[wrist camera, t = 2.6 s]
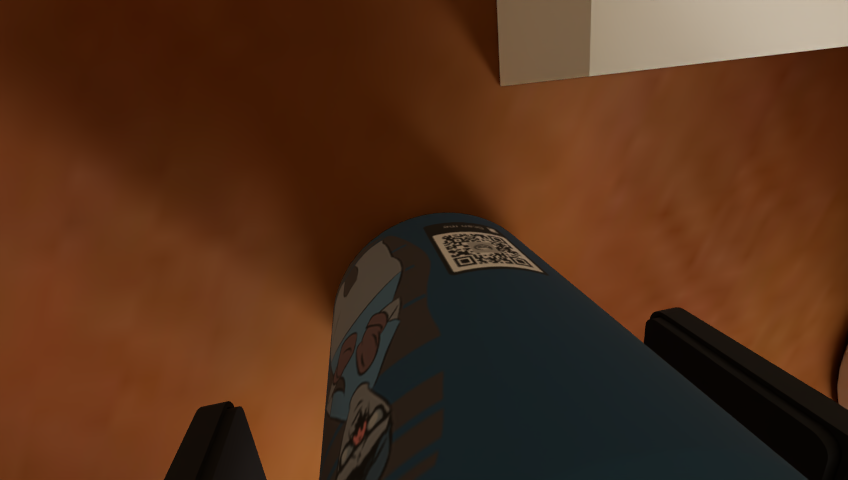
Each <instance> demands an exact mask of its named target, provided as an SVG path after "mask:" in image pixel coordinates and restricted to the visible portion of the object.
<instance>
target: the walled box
mask: <svg viewBox="0 0 848 480" xmlns="http://www.w3.org/2000/svg"><path fill="white" fill-rule="evenodd" d="M497 17H498V41H499V65H500V86H508V85H517V84H526V83H534V82H543V81H552V80H561V79H570V78H578V77H587V76H596V75H605V74H613V73H622V72H630V71H639V70H647V69H656V68H665V67H673V66H682V65H690V64H699V63H708V62H716V61H725V60H733V59H742V58H750V57H759V56H768V55H776V54H785V53H793V52H802V51H810V50H819V49H828V48H836V47H845V46H848V0H497Z"/></svg>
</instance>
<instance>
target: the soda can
mask: <svg viewBox="0 0 848 480" xmlns="http://www.w3.org/2000/svg"><path fill="white" fill-rule="evenodd" d="M319 480H808V479H807V478H806V477H805V476H803V475H802V474H801V473H800V472H799V471H797V470H796V469H795V468H794V467H793V466H791V465H790V464H789V463H788V462H786V461H785V460H784V459H783V458H782V457H780V456H779V455H778V454H777V453H776V452H774V451H773V450H772V449H771V448H770V447H768V446H767V445H766V444H765V443H764V442H762V441H761V440H760V439H759V438H757V437H756V436H755V435H754V434H753V433H751V432H750V431H749V430H748V429H747V428H745V427H744V426H743V425H742V424H741V423H739V422H738V421H737V420H736V419H735V418H733V417H732V416H731V415H730V414H728V413H727V412H726V411H725V410H724V409H722V408H721V407H720V406H719V405H718V404H716V403H715V402H714V401H713V400H712V399H710V398H709V397H708V396H707V395H706V394H704V393H703V392H702V391H701V390H699V389H698V388H697V387H696V386H695V385H693V384H692V383H691V382H690V381H689V380H687V379H686V378H685V377H684V376H683V375H681V374H680V373H679V372H678V371H677V370H675V369H674V368H673V367H672V366H670V365H669V364H668V363H667V362H666V361H664V360H663V359H662V358H661V357H660V356H658V355H657V354H656V353H655V352H654V351H652V350H651V349H650V348H649V347H648V346H646V345H645V344H644V343H643V342H641V341H640V340H639V339H638V338H637V337H635V336H634V335H633V334H632V333H631V332H629V331H628V330H627V329H626V328H625V327H623V326H622V325H621V324H620V323H618V322H617V321H616V320H615V319H614V318H612V317H611V316H610V315H609V314H608V313H606V312H605V311H604V310H603V309H602V308H600V307H599V306H598V305H597V304H596V303H594V302H593V301H592V300H591V299H589V298H588V297H587V296H586V295H585V294H583V293H582V292H581V291H580V290H579V289H577V288H576V287H575V286H574V285H573V284H571V283H570V282H569V281H568V280H567V279H565V278H564V277H563V276H562V275H560V274H559V273H558V272H557V271H556V270H554V269H553V268H552V267H551V266H550V265H548V264H547V263H546V262H545V261H544V260H542V259H541V258H540V257H539V256H538V255H536V254H535V253H534V252H533V251H531V250H530V249H529V248H528V247H527V246H525V245H524V244H523V243H522V242H521V241H519V240H518V239H517V238H516V237H515V236H513V235H512V234H511V233H510V232H508V231H507V230H505V229H504V228H502V227H501V226H499V225H497V224H495V223H493V222H491V221H489V220H486V219H483V218H480V217H477V216H473V215H468V214H462V213H434V214H428V215H423V216H418V217H415V218H412V219H409V220H406V221H404V222H401V223H399V224H397V225H395V226H393V227H391V228H389V229H388V230H386V231H384V232H383V233H381V234H380V235H378V236H377V237H376V238H374V239H373V240H372V241H371V242H370V243H368V244H367V245H366V246H365V247H364V248H363V249H362V250H361V251H360V253H359V254H358V255H357V256H356V257H355V259H354V260H353V261H352V263H351V264H350V266H349V267H348V269H347V271H346V272H345V274H344V276H343V278H342V281H341V283H340V285H339V288H338V291H337V294H336V299H335V304H334V312H333V323H332V335H331V347H330V359H329V371H328V383H327V394H326V406H325V418H324V430H323V442H322V453H321V465H320V477H319Z"/></svg>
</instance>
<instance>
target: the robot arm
mask: <svg viewBox="0 0 848 480" xmlns="http://www.w3.org/2000/svg"><path fill="white" fill-rule="evenodd" d="M644 344H645V345H646V346H648V347H649V348H650V349H651V350H652V351H654V352H655V353H656V354H657V355H658V356H660V357H661V358H662V359H663V360H664V361H666V362H667V363H668V364H669V365H670V366H672V367H673V368H674V369H675V370H677V371H678V372H679V373H680V374H681V375H683V376H684V377H685V378H686V379H687V380H689V381H690V382H691V383H692V384H693V385H695V386H696V387H697V388H698V389H699V390H701V391H702V392H703V393H704V394H706V395H707V396H708V397H709V398H710V399H712V400H713V401H714V402H715V403H716V404H718V405H719V406H720V407H721V408H722V409H724V410H725V411H726V412H727V413H728V414H730V415H731V416H732V417H733V418H735V419H736V420H737V421H738V422H739V423H741V424H742V425H743V426H744V427H745V428H747V429H748V430H749V431H750V432H751V433H753V434H754V435H755V436H756V437H757V438H759V439H760V440H761V441H762V442H764V443H765V444H766V445H767V446H768V447H770V448H771V449H772V450H773V451H774V452H776V453H777V454H778V455H779V456H780V457H782V458H783V459H784V460H785V461H786V462H788V463H789V464H790V465H791V466H793V467H794V468H795V469H796V470H797V471H799V472H800V473H801V474H802V475H803V476H805V477H806V478H807V479H808V480H848V344H847V347H846V350H845V353H844V356H843V359H842V362H841V365H840V369H839V376H838V383H837V391H838V403H839V404H838V403H836V402H835V401H833V400H831V399H830V398H828V397H826V396H825V395H823V394H822V393H820V392H818V391H817V390H815V389H813V388H812V387H810V386H808V385H807V384H805V383H804V382H802V381H800V380H799V379H797V378H795V377H794V376H792V375H790V374H789V373H787V372H786V371H784V370H782V369H781V368H779V367H777V366H776V365H774V364H772V363H771V362H769V361H768V360H766V359H764V358H763V357H761V356H759V355H758V354H756V353H754V352H753V351H751V350H750V349H748V348H746V347H745V346H743V345H741V344H740V343H738V342H736V341H735V340H733V339H732V338H730V337H728V336H727V335H725V334H723V333H722V332H720V331H718V330H717V329H715V328H713V327H712V326H710V325H709V324H707V323H705V322H704V321H702V320H700V319H699V318H697V317H695V316H694V315H692V314H691V313H689V312H687V311H686V310H684V309H682V308H671V309H666V310H661V311H656V312H654V313H653V314H652V315H651V317H650V320H648V321H647V322H646V326H645V337H644ZM164 480H267V479H266V476H265V473H264V470H263V467H262V464H261V461H260V458H259V455H258V452H257V449H256V446H255V443H254V440H253V437H252V434H251V431H250V428H249V425H248V422H247V419H246V416H245V413H244V410H243V408H242V407H240V406H239V407H234V405H233V404H232V403H231V402H229V401H227V402H223V403H218V404H213V405H208V406H204V407H200V408H199V409H198V410H197V412H196V413H195V416H194V418H193V420H192V422H191V424H190V426H189V428H188V430H187V432H186V434H185V437H184V439H183V441H182V443H181V445H180V447H179V449H178V451H177V453H176V455H175V458H174V460H173V462H172V464H171V466H170V468H169V470H168V472H167V474H166V476H165V479H164Z"/></svg>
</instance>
